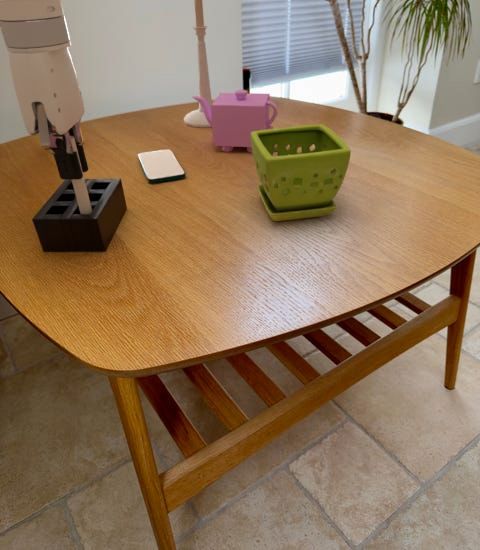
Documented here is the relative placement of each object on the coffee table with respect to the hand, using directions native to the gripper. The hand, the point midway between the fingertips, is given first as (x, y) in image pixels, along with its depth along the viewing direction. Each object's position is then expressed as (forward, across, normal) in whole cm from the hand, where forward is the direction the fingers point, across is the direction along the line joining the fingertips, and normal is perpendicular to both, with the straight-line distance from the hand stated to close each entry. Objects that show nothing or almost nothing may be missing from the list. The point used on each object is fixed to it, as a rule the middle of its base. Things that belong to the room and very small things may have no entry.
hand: (74, 174), depth 64 cm
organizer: (+12, -4, -2) cm, 13 cm away
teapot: (+12, -43, +22) cm, 50 cm away
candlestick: (+12, -63, +13) cm, 66 cm away
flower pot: (+12, -11, +34) cm, 38 cm away
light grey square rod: (+8, 0, 0) cm, 8 cm away
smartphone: (+12, -30, +6) cm, 33 cm away
